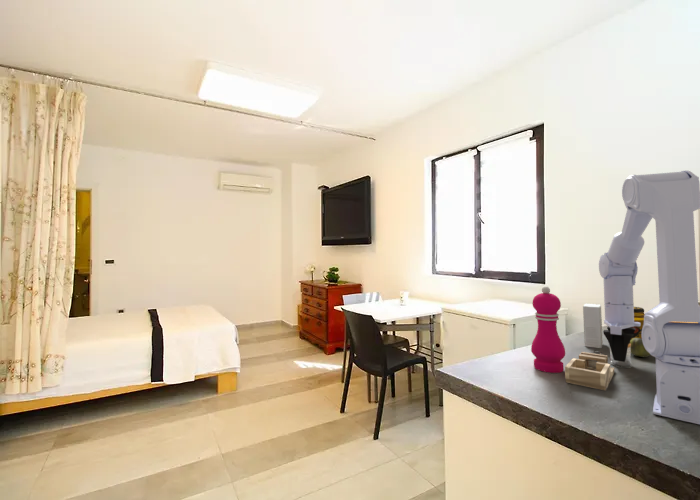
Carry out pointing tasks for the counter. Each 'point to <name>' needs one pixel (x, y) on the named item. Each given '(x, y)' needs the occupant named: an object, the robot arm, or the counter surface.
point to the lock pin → (592, 362)
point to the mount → (589, 371)
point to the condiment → (638, 318)
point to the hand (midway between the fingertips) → (620, 358)
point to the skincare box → (592, 325)
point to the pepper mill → (547, 334)
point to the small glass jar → (619, 363)
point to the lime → (638, 348)
